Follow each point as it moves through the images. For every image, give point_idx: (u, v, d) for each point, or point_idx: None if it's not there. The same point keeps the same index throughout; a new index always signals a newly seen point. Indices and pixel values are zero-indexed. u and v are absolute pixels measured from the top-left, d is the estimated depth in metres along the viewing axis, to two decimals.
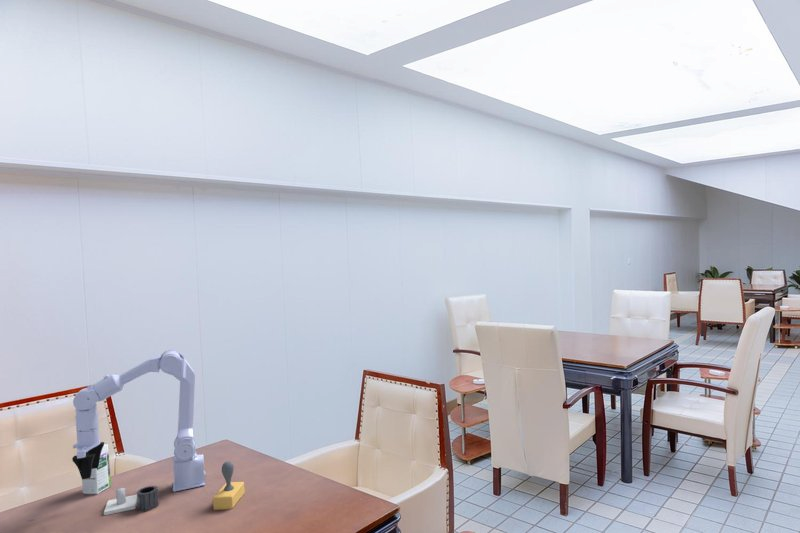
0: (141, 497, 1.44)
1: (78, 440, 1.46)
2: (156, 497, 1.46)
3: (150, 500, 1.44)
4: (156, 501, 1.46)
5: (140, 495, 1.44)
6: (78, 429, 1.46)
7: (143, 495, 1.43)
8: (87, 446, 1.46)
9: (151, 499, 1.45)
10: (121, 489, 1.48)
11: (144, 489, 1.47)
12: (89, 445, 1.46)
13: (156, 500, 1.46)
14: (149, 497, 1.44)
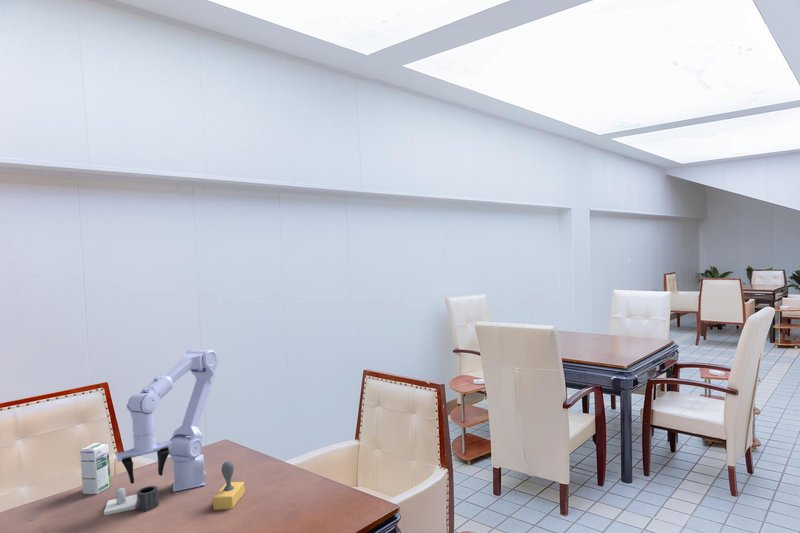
0: (141, 497, 1.44)
1: None
2: (156, 497, 1.46)
3: (150, 500, 1.44)
4: (156, 501, 1.46)
5: (140, 495, 1.44)
6: (142, 433, 1.43)
7: (143, 495, 1.43)
8: (134, 451, 1.44)
9: (151, 499, 1.45)
10: (121, 489, 1.48)
11: (144, 489, 1.47)
12: (135, 451, 1.44)
13: (156, 500, 1.46)
14: (149, 497, 1.44)
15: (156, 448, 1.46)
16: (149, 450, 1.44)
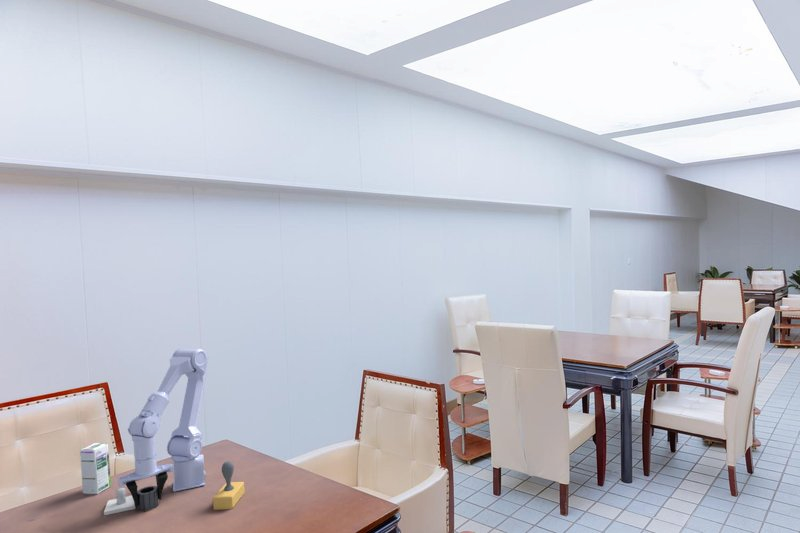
0: (141, 497, 1.44)
1: None
2: (156, 497, 1.46)
3: (150, 500, 1.44)
4: (156, 501, 1.46)
5: (140, 495, 1.44)
6: (144, 457, 1.44)
7: (143, 495, 1.43)
8: (135, 475, 1.44)
9: (151, 499, 1.45)
10: (121, 489, 1.48)
11: (144, 489, 1.47)
12: (136, 475, 1.44)
13: (156, 500, 1.46)
14: (149, 497, 1.44)
15: (157, 472, 1.46)
16: (150, 474, 1.44)
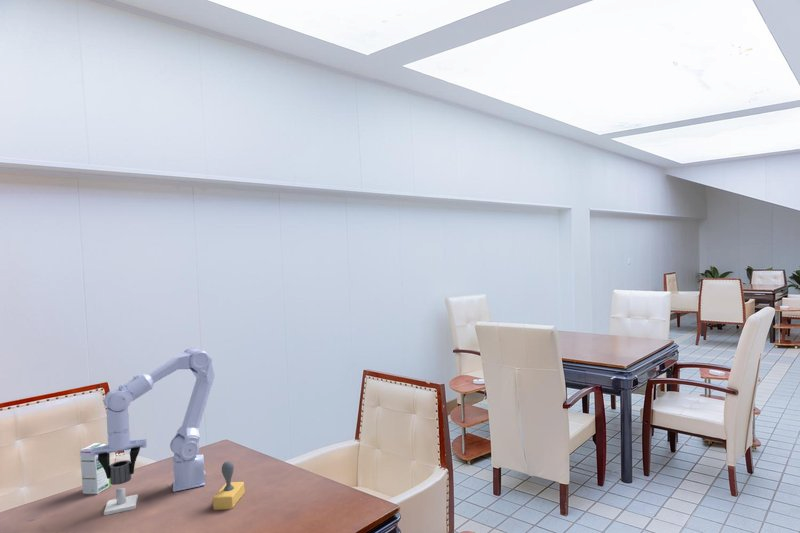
0: (112, 470, 1.44)
1: None
2: (127, 472, 1.46)
3: (120, 474, 1.45)
4: (128, 476, 1.46)
5: (111, 468, 1.45)
6: (112, 430, 1.44)
7: (113, 469, 1.44)
8: (107, 447, 1.46)
9: (122, 473, 1.45)
10: (121, 489, 1.48)
11: (118, 463, 1.48)
12: (108, 447, 1.45)
13: (127, 475, 1.46)
14: (119, 471, 1.45)
15: (128, 446, 1.46)
16: (120, 448, 1.45)
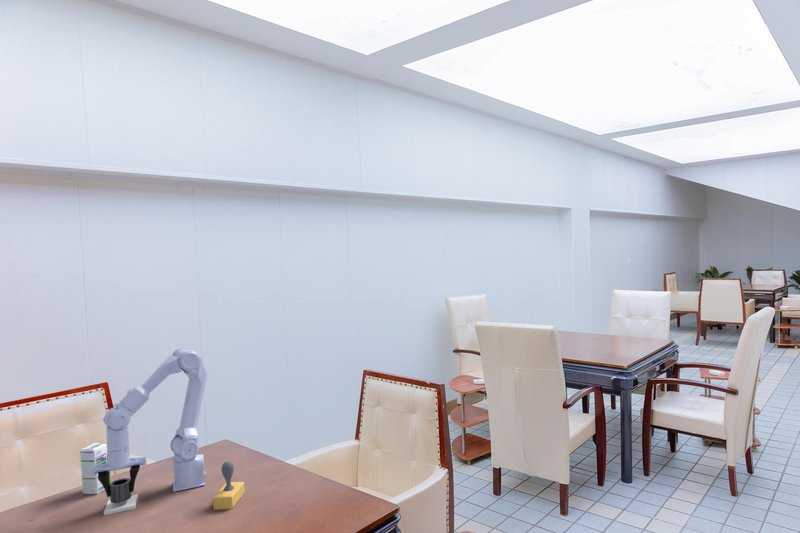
0: (112, 489, 1.45)
1: None
2: (127, 490, 1.46)
3: (120, 493, 1.45)
4: (128, 494, 1.47)
5: (111, 487, 1.45)
6: (111, 449, 1.45)
7: (113, 487, 1.44)
8: (107, 465, 1.46)
9: (122, 492, 1.45)
10: None
11: (118, 481, 1.49)
12: (108, 465, 1.45)
13: (127, 493, 1.46)
14: (119, 490, 1.45)
15: (128, 464, 1.46)
16: (120, 466, 1.45)
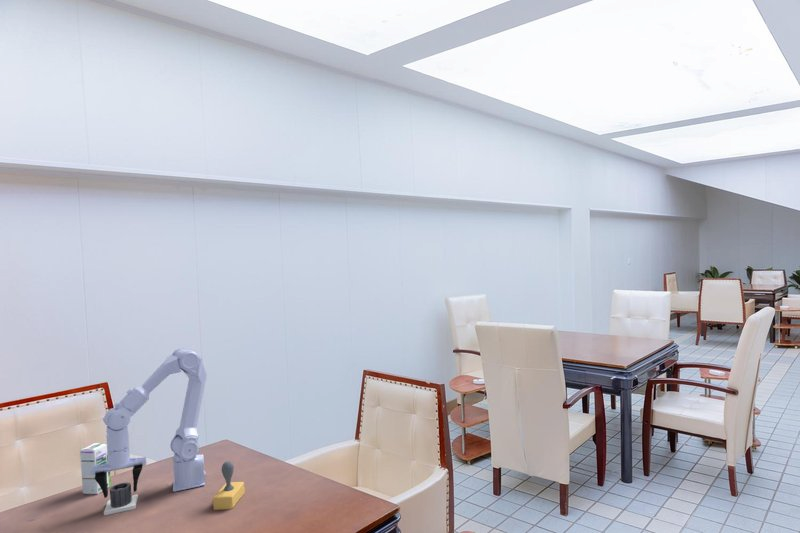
0: (112, 493, 1.45)
1: None
2: (128, 495, 1.47)
3: (121, 497, 1.45)
4: (128, 498, 1.47)
5: (111, 491, 1.45)
6: (111, 449, 1.45)
7: (114, 492, 1.44)
8: (107, 466, 1.46)
9: (122, 496, 1.45)
10: None
11: (119, 485, 1.49)
12: (108, 465, 1.45)
13: (128, 497, 1.46)
14: (119, 494, 1.45)
15: (128, 464, 1.46)
16: (120, 466, 1.45)
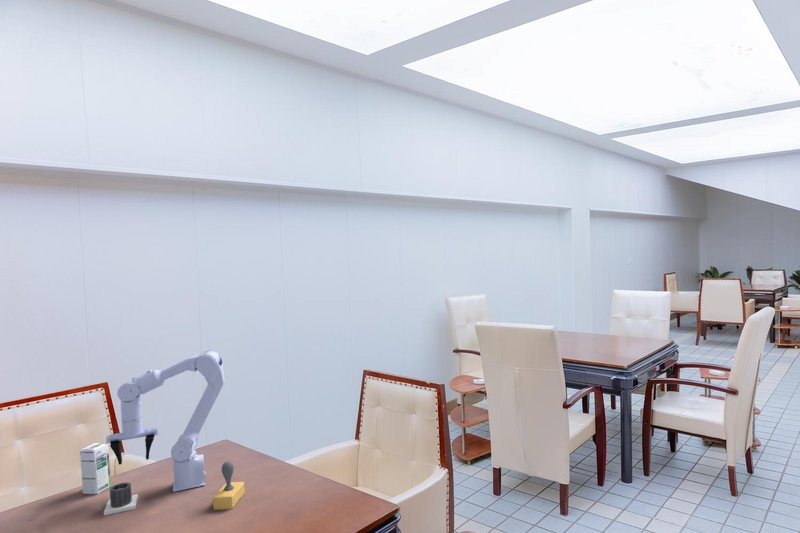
0: (112, 493, 1.45)
1: None
2: (128, 495, 1.47)
3: (121, 497, 1.45)
4: (128, 498, 1.47)
5: (111, 491, 1.45)
6: (122, 419, 1.54)
7: (114, 492, 1.44)
8: (121, 435, 1.55)
9: (122, 496, 1.45)
10: None
11: (119, 485, 1.49)
12: (122, 434, 1.55)
13: (128, 497, 1.46)
14: (119, 494, 1.45)
15: (141, 434, 1.56)
16: (134, 435, 1.54)
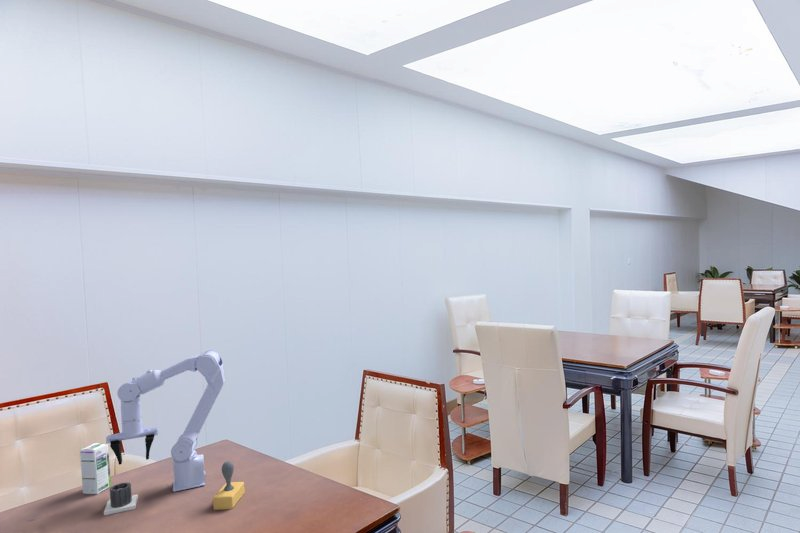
0: (112, 493, 1.45)
1: None
2: (128, 495, 1.47)
3: (121, 497, 1.45)
4: (128, 498, 1.47)
5: (111, 491, 1.45)
6: (122, 419, 1.54)
7: (114, 492, 1.44)
8: (121, 435, 1.55)
9: (122, 496, 1.45)
10: None
11: (119, 485, 1.49)
12: (122, 434, 1.55)
13: (128, 497, 1.46)
14: (119, 494, 1.45)
15: (141, 434, 1.56)
16: (134, 435, 1.54)
